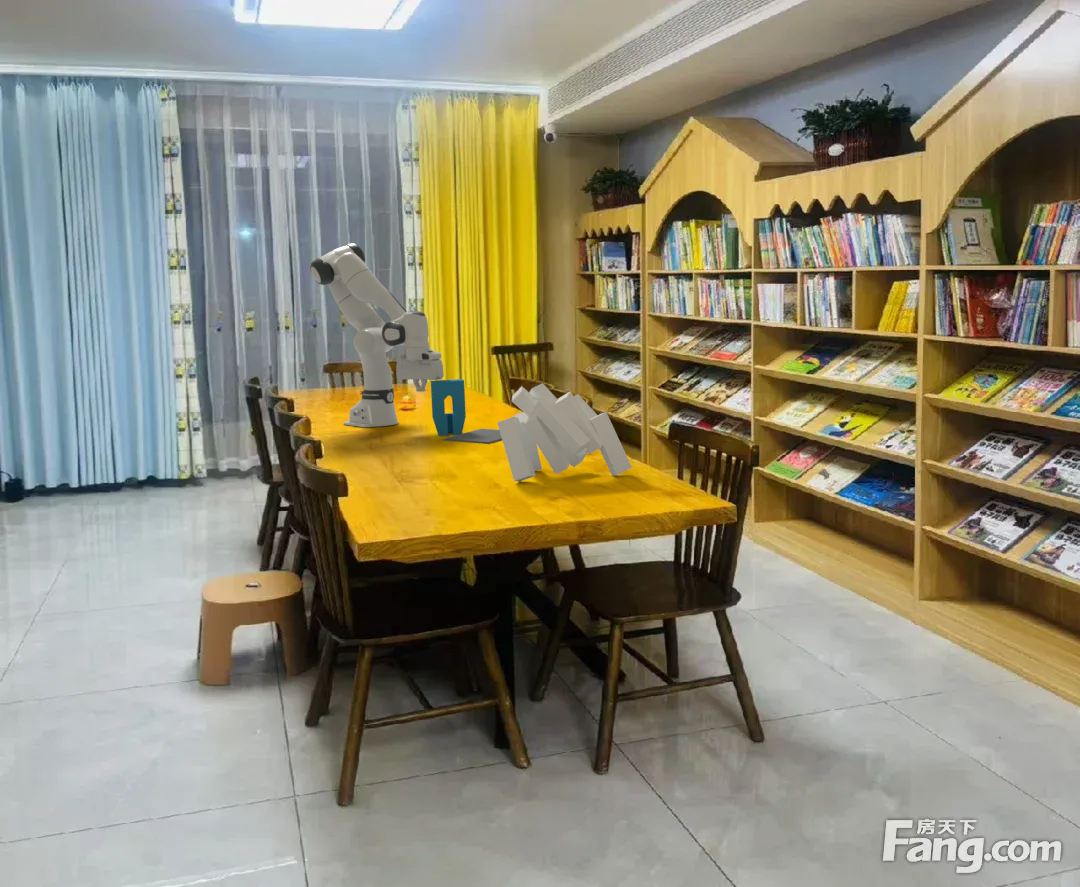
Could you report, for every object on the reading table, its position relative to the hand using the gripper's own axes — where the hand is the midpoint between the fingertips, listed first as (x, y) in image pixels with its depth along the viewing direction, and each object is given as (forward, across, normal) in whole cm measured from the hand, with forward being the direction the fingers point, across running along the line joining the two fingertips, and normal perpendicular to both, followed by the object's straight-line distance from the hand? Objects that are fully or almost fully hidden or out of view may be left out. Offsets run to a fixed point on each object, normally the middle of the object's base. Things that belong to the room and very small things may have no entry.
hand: (420, 391), depth 391 cm
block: (+16, +12, 0) cm, 20 cm away
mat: (+16, +28, 0) cm, 33 cm away
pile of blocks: (+17, +90, -50) cm, 105 cm away
